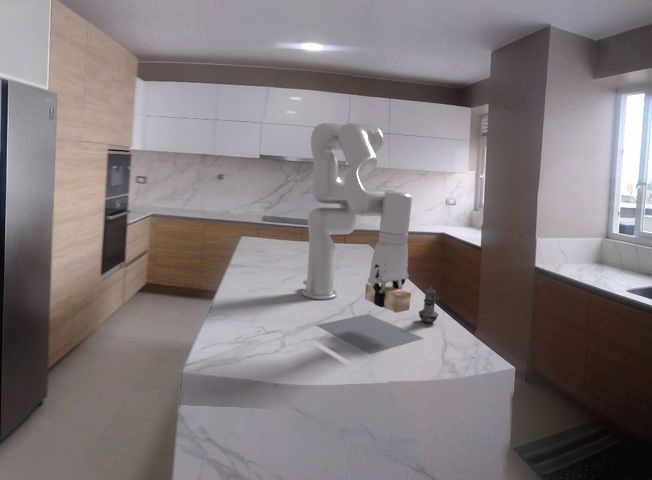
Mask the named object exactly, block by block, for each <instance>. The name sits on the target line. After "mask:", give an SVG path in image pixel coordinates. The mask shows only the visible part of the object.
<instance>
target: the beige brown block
mask: <svg viewBox="0 0 652 480" xmlns="http://www.w3.org/2000/svg"><path fill="white" fill-rule="evenodd" d="M381 284H382V283H380V284H379V285H380V287H381ZM383 293H385V300H384V307H383V308H384V309H386V310H389V311H391V312H393V313H397V314H399V313H402V312H406V311H410V306H411V305H410V304H411V296H412V293H411V292H408V291H406V290H403V289H401V290H400V289H397V288H394V287H392V285H388V284H386V286H385V289H384V292H383ZM374 298H375V291H374V288H373V287H372V286H371V284H370V283H369V282H368V283H366V284H365V292H364V300H366V301H368V302H369V303H372V304H374Z"/></svg>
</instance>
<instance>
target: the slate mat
mask: <svg viewBox="0 0 652 480" xmlns="http://www.w3.org/2000/svg"><path fill="white" fill-rule="evenodd" d="M316 326H317V327H318V328H320V329H323V330H324V331H326V332H328V333H330V334H331V335H333V336H335V337H337V338H339V339H341V340H342V341H344V342H347V343H348V344H350V345H352V346H354V347H356V348H358V349H359V350H361V351H363V352H365V353H367V354H369V355H372V354H374V353H378V352H382V351H386V350H390V349H393V348H396V347H399V346H403V345H406V344H409V343H412V342H416V341H420V340H424V337H422V336H419V335H418V334H415V333H414V332H413V333H412V332H411V331H408V330H405V329H403V328H401V327H399V326H397V325H394V324H392V323H390V322H387V321H385V320H383V319H379V318H377V317H375V316H373V315H370V314H362V315H359V316H358V315H357V316H353V317H348V318H343V319H338V320H334V321H329V322H324V323H319V324H316Z"/></svg>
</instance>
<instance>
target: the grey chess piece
mask: <svg viewBox="0 0 652 480" xmlns="http://www.w3.org/2000/svg"><path fill="white" fill-rule="evenodd" d="M424 296H425V297H424V299H423V303H424V304H423V309H421V310H419V311H418V314H419V315H418V316H419V318H420V320H421V321H422V322H423V323H425V324H430V325H431V324H432V323H434V322H436V320H437V319H438V316H439V313H438V312H436V311H435V310H436V309H435V304H436V303H437V301H436V290H434V289H433V287H432V285H431V286H429V288H428V289H425V295H424Z"/></svg>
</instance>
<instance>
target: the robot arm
mask: <svg viewBox="0 0 652 480" xmlns="http://www.w3.org/2000/svg"><path fill="white" fill-rule="evenodd" d="M383 145H384V135H383V132H382V131H381V129H380V128H379V127H378V126H376V125H370V124H364V123H356V122H350V123H345V124H340V123H332V122H324V123H319V124H317V125H315V127H314V128H313V130H312V132H311V136H310V149H311V153H312V158H313V177H312V178H313V179H312V180H313V181H312V195H313V199H314V200H315V202H316V203H320V204H327V205H330V204H331V205H333V204H334V205H339V207H325V206H324V207H323V206H322V207H315V208H313V209H312V210H310V211H309V213H308V215H307V226H308V256H307V257H308V260H307V276H306V280H303V281H302V284H303V285H305V288H304V289H302V290H301V294H302V295H303V296H304V297H305V298H309V299H313V300H332V299H334V298H337V296H338V292H337V290H334V279H335V265H336V264H335V263H336V245H335V242H334V241H333V239H332V237H331V236H333V235H349V234H351V233H353V232H354V230H355V228H356V224H357V216H360V217H380V222H379V234H378V242H377V243H375V245H374V246H375V247H374V250H373V254H372V259H371V264H370V271H369V272H370V274H369V276H368V278H367V282H368V283H370V284H371V286H372V287H373V288H374V291H375V298H374V303H373V304H374V306H377V307H378V308H379V307H380V308H384V300H385V293H383V292H384V289H385V286H386V285H387V283H390V282H391V286H392V287H394V288H397V289H400V290H403V285H405V282H406V280H408V278H410V274H409V273H408V263H409V247H408V246H409V245H408V240H409V239H408V238H409V230H410V220H411V211H412V202H413V201H412V199H413V198H412V196H411V195H410V194H409V193H406V192H400V191H399V192H397V191H394V190H391V189H383V188H382V189H381V188H364V187H363V185H362V183H361V181H360V178H362V177H364V176H367V175H368V174H370V173H372V171H373V170H374V169H375V168H376V167H377V165H378V159H377V155H376V153H378V152H379V151H381V149H382V147H383ZM332 150H333V151H339V152H340V151H341V152H343V156H344V158H345V159H346V162H347V165H348V170H347V172H346V174H345V177H342V176H339V161H338V160H337V158H336V156H335V154H334V152H333V151H332ZM380 283H382V284H381V287H380V285H379V284H380Z"/></svg>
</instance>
